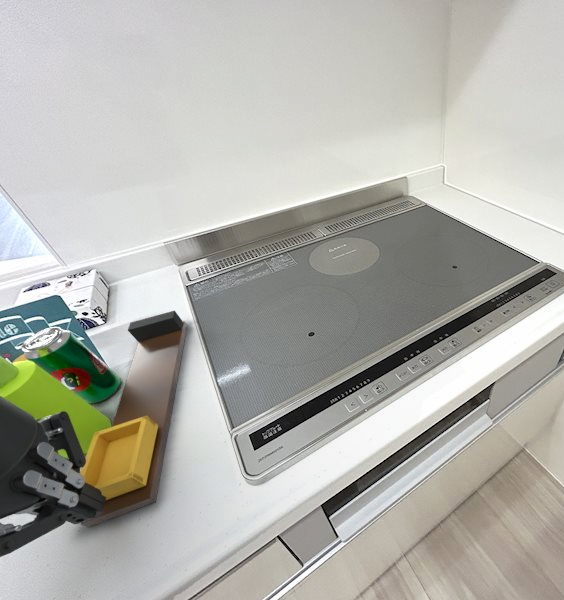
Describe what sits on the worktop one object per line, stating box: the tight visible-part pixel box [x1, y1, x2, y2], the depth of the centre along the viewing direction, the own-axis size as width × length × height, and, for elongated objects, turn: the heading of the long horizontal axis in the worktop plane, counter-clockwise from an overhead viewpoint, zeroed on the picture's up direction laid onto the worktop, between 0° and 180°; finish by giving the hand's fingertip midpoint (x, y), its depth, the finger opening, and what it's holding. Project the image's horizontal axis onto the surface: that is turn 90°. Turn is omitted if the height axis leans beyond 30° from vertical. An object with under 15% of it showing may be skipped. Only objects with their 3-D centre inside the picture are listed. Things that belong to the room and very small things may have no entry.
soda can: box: [20, 326, 121, 404], centre depth 47 cm, size 5×5×12 cm
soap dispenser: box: [0, 355, 112, 459], centre depth 39 cm, size 6×7×20 cm
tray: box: [80, 416, 158, 500], centre depth 40 cm, size 8×6×3 cm
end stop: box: [127, 310, 184, 343], centre depth 57 cm, size 2×7×3 cm, turn 110°
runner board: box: [80, 320, 188, 528], centre depth 48 cm, size 31×7×1 cm, turn 20°
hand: (94, 509), depth 34 cm, fingers closed
